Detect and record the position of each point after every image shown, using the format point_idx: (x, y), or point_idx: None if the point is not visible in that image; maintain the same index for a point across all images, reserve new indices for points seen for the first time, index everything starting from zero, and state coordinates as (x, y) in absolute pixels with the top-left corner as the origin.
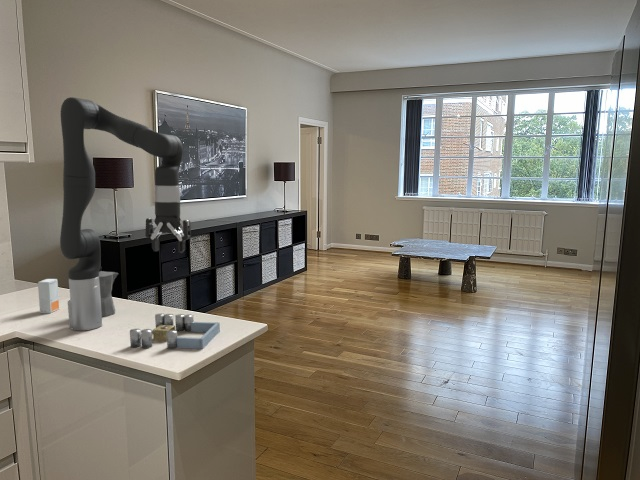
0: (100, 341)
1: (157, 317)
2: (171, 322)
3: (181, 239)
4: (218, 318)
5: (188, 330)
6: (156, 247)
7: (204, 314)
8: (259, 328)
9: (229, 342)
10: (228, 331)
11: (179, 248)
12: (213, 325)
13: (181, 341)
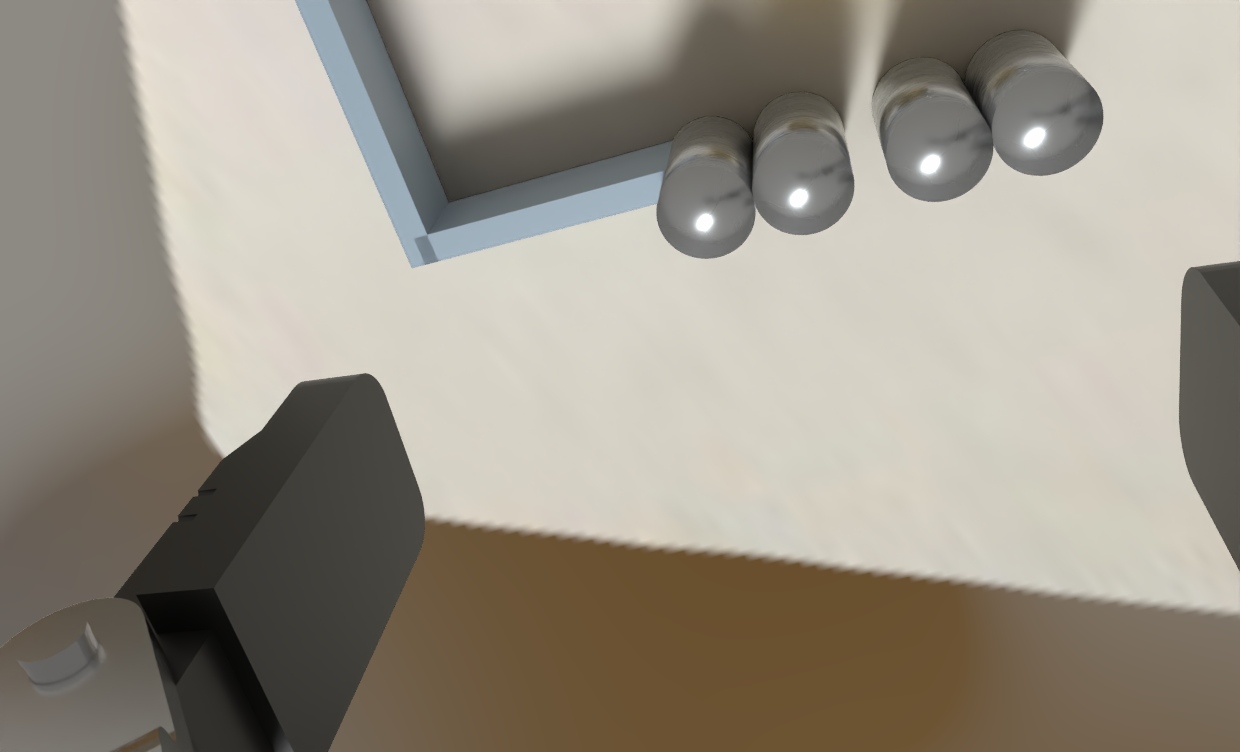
0: None
1: (1041, 67)
2: (881, 116)
3: (15, 652)
4: (672, 508)
5: (690, 125)
6: (1224, 392)
7: (857, 560)
8: (200, 404)
9: (158, 18)
10: (367, 259)
11: (277, 440)
12: (402, 174)
13: None
